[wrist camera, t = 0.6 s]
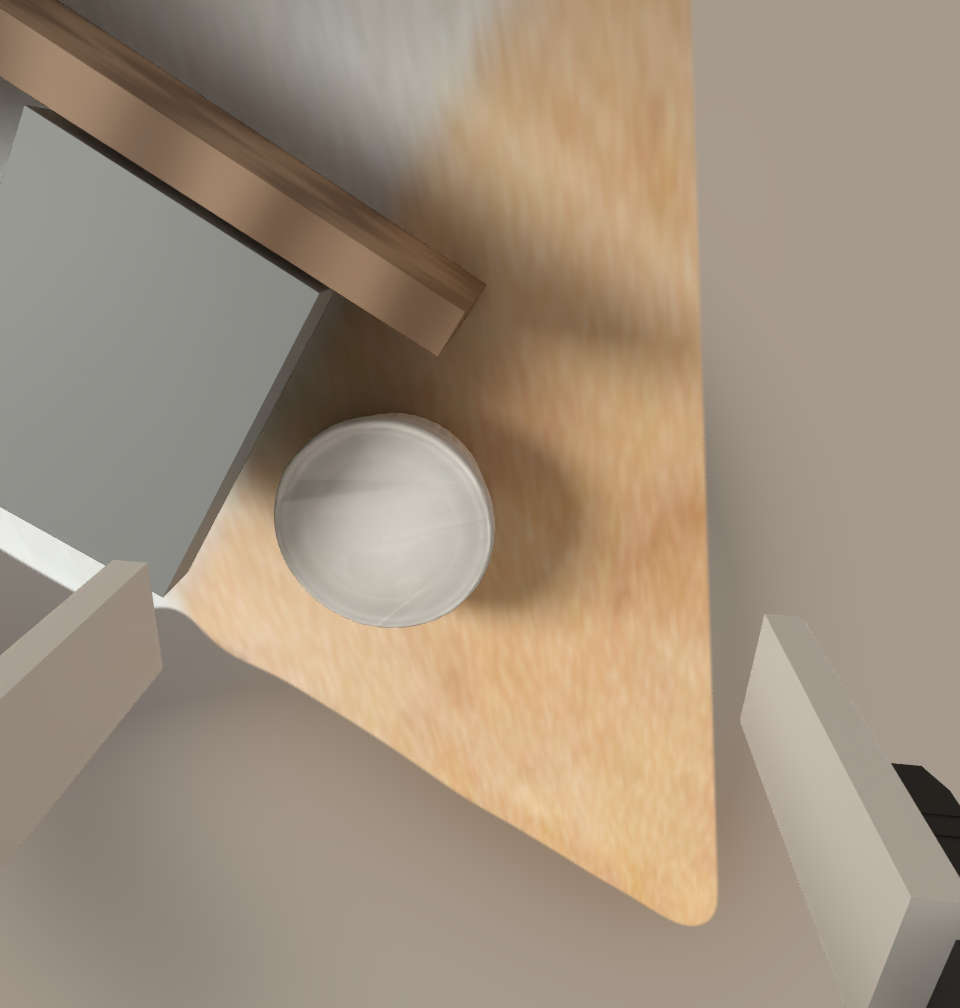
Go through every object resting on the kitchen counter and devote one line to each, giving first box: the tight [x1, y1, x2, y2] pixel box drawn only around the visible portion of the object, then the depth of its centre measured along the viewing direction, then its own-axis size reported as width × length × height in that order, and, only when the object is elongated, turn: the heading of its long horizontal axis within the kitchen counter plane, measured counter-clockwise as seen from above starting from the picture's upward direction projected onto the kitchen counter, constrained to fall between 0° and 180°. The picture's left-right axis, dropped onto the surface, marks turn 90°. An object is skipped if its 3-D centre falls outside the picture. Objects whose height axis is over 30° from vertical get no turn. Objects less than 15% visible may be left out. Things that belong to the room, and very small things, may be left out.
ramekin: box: [274, 413, 495, 628], centre depth 39 cm, size 11×11×5 cm
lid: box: [0, 105, 334, 597], centre depth 31 cm, size 12×16×2 cm
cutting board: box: [0, 0, 486, 357], centre depth 30 cm, size 28×2×10 cm, turn 58°
